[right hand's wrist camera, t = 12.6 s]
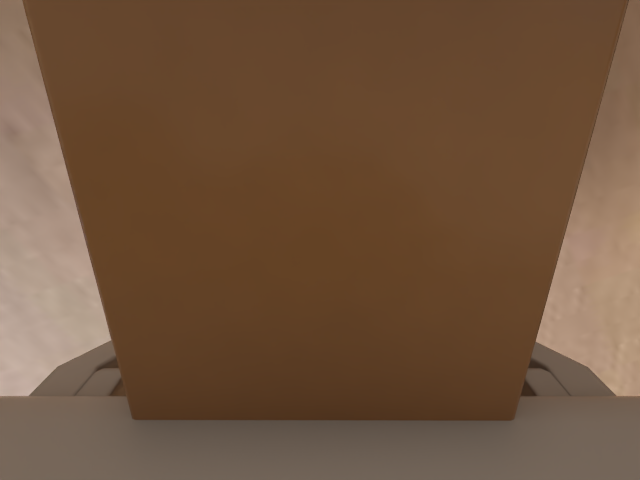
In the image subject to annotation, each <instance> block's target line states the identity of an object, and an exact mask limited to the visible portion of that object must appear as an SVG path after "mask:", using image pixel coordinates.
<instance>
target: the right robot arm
mask: <svg viewBox="0 0 640 480" xmlns="http://www.w3.org/2000/svg"><path fill="white" fill-rule="evenodd" d="M0 480H640V396H616V395H615V394H614V393H613V392H612V391H611V390H610V389H609V388H608V387H607V386H606V385H605V384H604V383H603V382H602V381H601V380H600V379H599V378H598V377H597V376H596V375H595V374H594V373H593V372H592V371H591V370H590V369H589V368H588V367H586V366H584V365H582V364H580V363H578V362H576V361H574V360H572V359H570V358H568V357H566V356H564V355H562V354H560V353H557V352H555V351H553V350H551V349H549V348H547V347H545V346H543V345H541V344H539V343H537V342H535V345H534V348H533V352H532V356H531V359H530V363H529V367H528V370H527V374H526V378H525V381H524V385H523V389H522V392H521V396H520V399H519V403H518V407H517V410H516V414H515V418H514V420H511V421H433V420H134V419H132V416H131V412H130V408H129V404H128V401H127V397H126V393H125V389H124V385H123V381H122V378H121V374H120V370H119V366H118V362H117V359H116V355H115V351H114V347H113V343H112V340H111V341H109V342H107V343H105V344H103V345H101V346H99V347H97V348H95V349H93V350H91V351H89V352H87V353H85V354H83V355H81V356H79V357H77V358H75V359H72V360H70V361H68V362H66V363H64V364H62V365H60V366H58V367H57V368H56V369H55V370H54V371H53V372H52V373H51V374H50V375H49V376H48V377H47V378H46V379H45V380H44V381H43V382H42V383H41V384H40V385H39V386H38V387H37V388H36V389H35V390H34V391H33V392H32V393H31V394H30V395H29V396H0Z"/></svg>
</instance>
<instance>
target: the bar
mask: <svg viewBox="0 0 640 480" xmlns="http://www.w3.org/2000/svg"><path fill="white" fill-rule="evenodd" d="M628 1H629V0H23V4H24V8H25V12H26V16H27V19H28V23H29V27H30V31H31V35H32V39H33V42H34V46H35V50H36V54H37V58H38V61H39V65H40V69H41V73H42V77H43V80H44V84H45V88H46V92H47V96H48V100H49V103H50V107H51V111H52V115H53V119H54V122H55V126H56V130H57V134H58V138H59V141H60V145H61V149H62V153H63V157H64V160H65V164H66V168H67V172H68V176H69V180H70V183H71V187H72V191H73V195H74V199H75V202H76V206H77V210H78V214H79V218H80V221H81V225H82V229H83V233H84V237H85V240H86V244H87V248H88V252H89V256H90V260H91V263H92V267H93V271H94V275H95V279H96V282H97V286H98V290H99V294H100V298H101V301H102V305H103V309H104V313H105V317H106V321H107V324H108V328H109V332H110V336H111V340H112V343H113V347H114V351H115V355H116V359H117V362H118V366H119V370H120V374H121V378H122V381H123V385H124V389H125V393H126V397H127V401H128V404H129V408H130V412H131V416H132V419H134V420H433V421H511V420H514V418H515V414H516V410H517V407H518V403H519V399H520V396H521V392H522V389H523V385H524V381H525V378H526V374H527V370H528V367H529V363H530V359H531V356H532V352H533V348H534V345H535V341H536V337H537V334H538V330H539V326H540V323H541V319H542V315H543V312H544V308H545V305H546V301H547V297H548V294H549V290H550V286H551V283H552V279H553V275H554V272H555V268H556V264H557V261H558V257H559V253H560V250H561V246H562V242H563V239H564V235H565V231H566V228H567V224H568V221H569V217H570V213H571V210H572V206H573V202H574V199H575V195H576V191H577V188H578V184H579V180H580V177H581V173H582V169H583V166H584V162H585V158H586V155H587V151H588V147H589V144H590V140H591V137H592V133H593V129H594V126H595V122H596V118H597V115H598V111H599V107H600V104H601V100H602V96H603V93H604V89H605V85H606V82H607V78H608V74H609V71H610V67H611V63H612V60H613V56H614V52H615V49H616V45H617V42H618V38H619V34H620V31H621V27H622V23H623V20H624V16H625V12H626V9H627V5H628Z"/></svg>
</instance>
